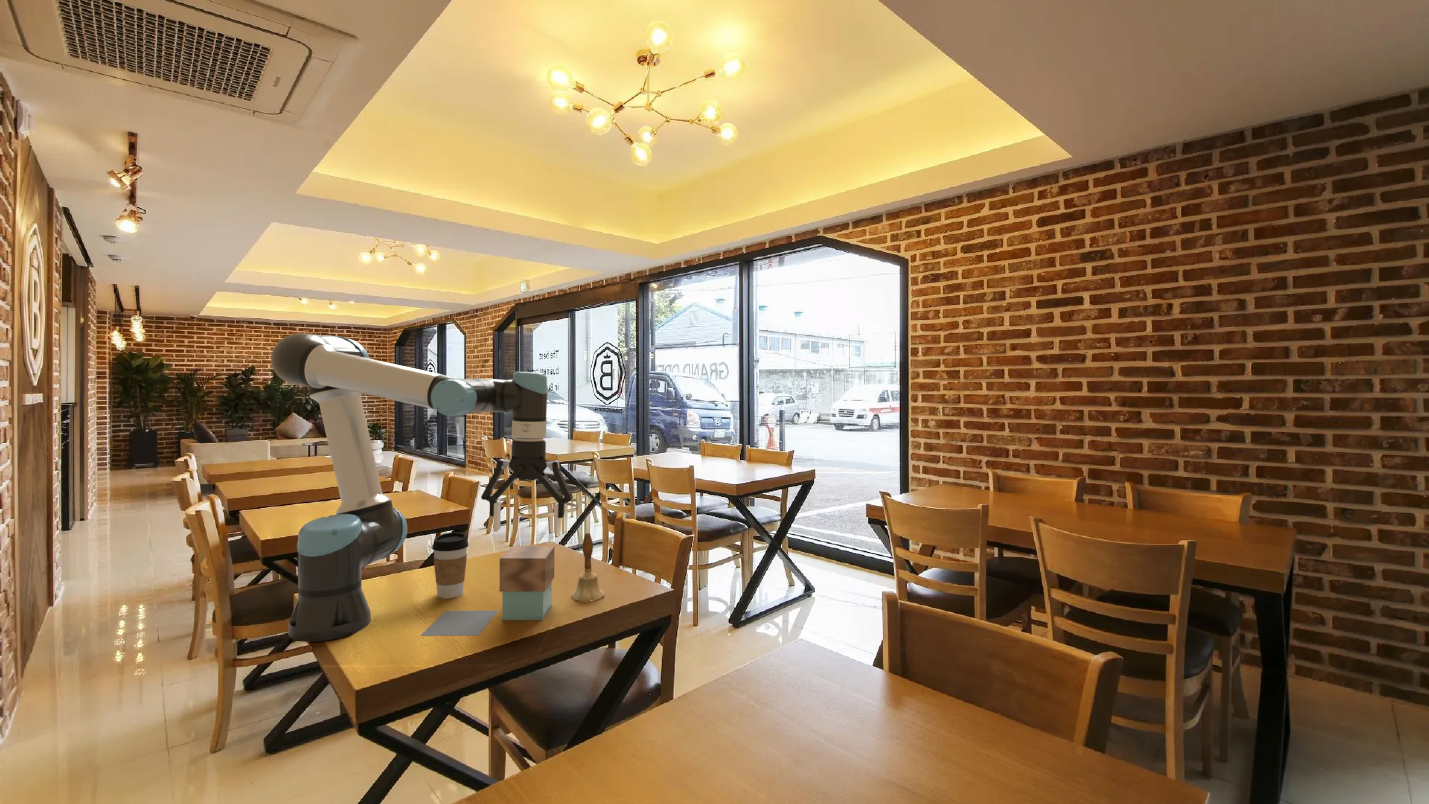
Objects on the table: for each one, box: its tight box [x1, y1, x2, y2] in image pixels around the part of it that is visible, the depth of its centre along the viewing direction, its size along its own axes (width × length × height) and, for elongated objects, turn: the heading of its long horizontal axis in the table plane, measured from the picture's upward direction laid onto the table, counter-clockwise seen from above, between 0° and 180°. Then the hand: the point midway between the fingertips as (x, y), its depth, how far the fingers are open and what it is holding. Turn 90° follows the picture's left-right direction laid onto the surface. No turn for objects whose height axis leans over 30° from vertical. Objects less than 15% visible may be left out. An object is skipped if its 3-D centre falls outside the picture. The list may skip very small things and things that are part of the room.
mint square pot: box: [501, 581, 553, 621], centre depth 145 cm, size 9×9×7 cm
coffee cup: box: [431, 531, 470, 600], centre depth 156 cm, size 8×8×15 cm
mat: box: [419, 610, 499, 637], centre depth 138 cm, size 12×14×1 cm
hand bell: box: [570, 532, 605, 602], centre depth 157 cm, size 8×8×16 cm
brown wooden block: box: [499, 545, 556, 593], centre depth 145 cm, size 10×10×8 cm
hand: (526, 531), depth 144 cm, fingers open, 13 cm apart
